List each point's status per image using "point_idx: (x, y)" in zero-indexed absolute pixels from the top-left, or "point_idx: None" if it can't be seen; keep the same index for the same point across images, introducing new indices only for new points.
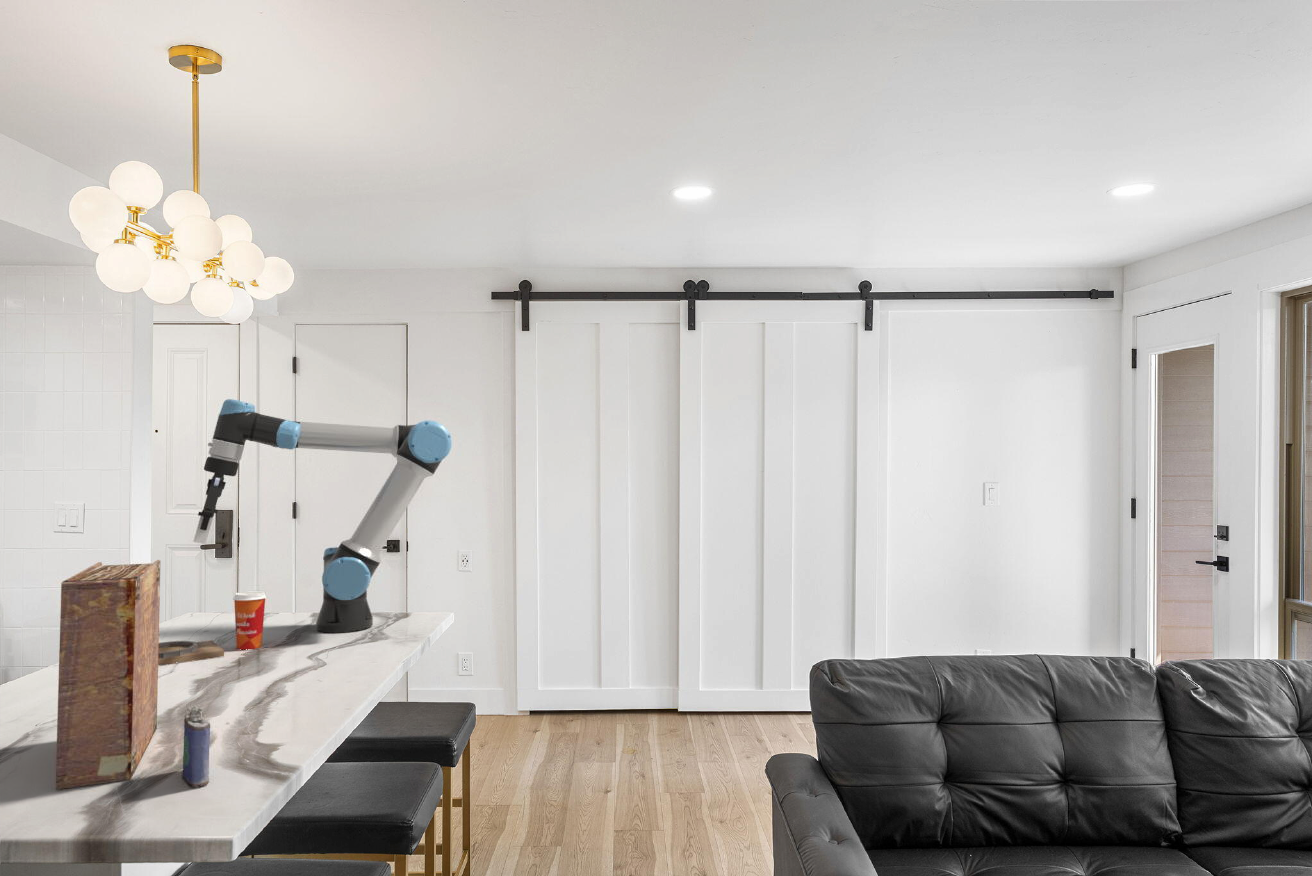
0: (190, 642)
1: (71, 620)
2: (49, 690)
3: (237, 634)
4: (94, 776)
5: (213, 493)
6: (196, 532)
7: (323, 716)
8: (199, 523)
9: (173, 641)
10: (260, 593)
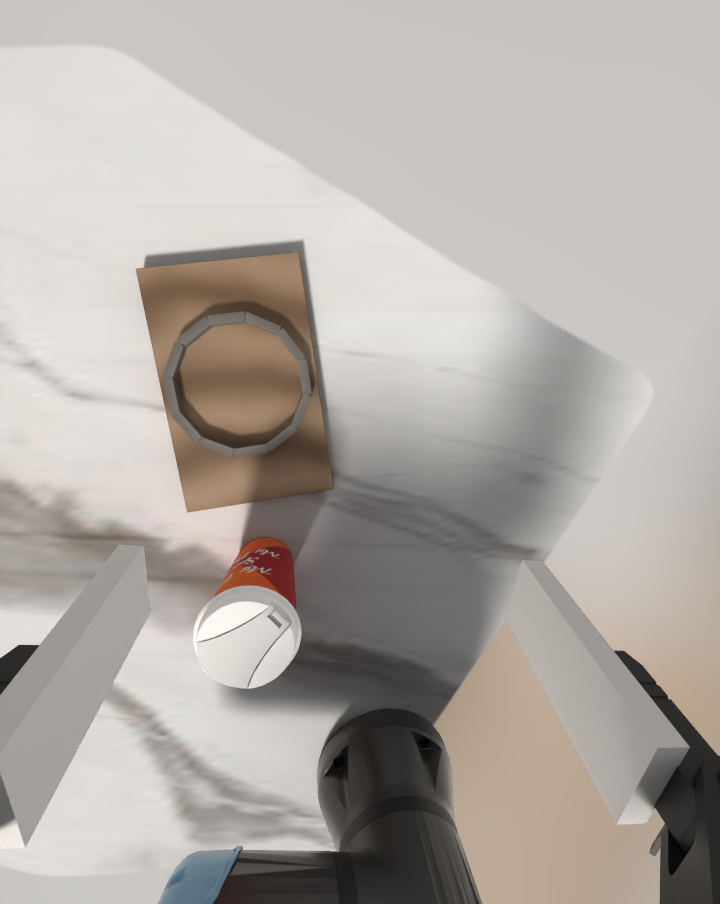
0: (269, 441)
1: None
2: (6, 131)
3: (246, 552)
4: None
5: None
6: (80, 599)
7: None
8: (24, 676)
9: (306, 403)
10: (211, 676)
